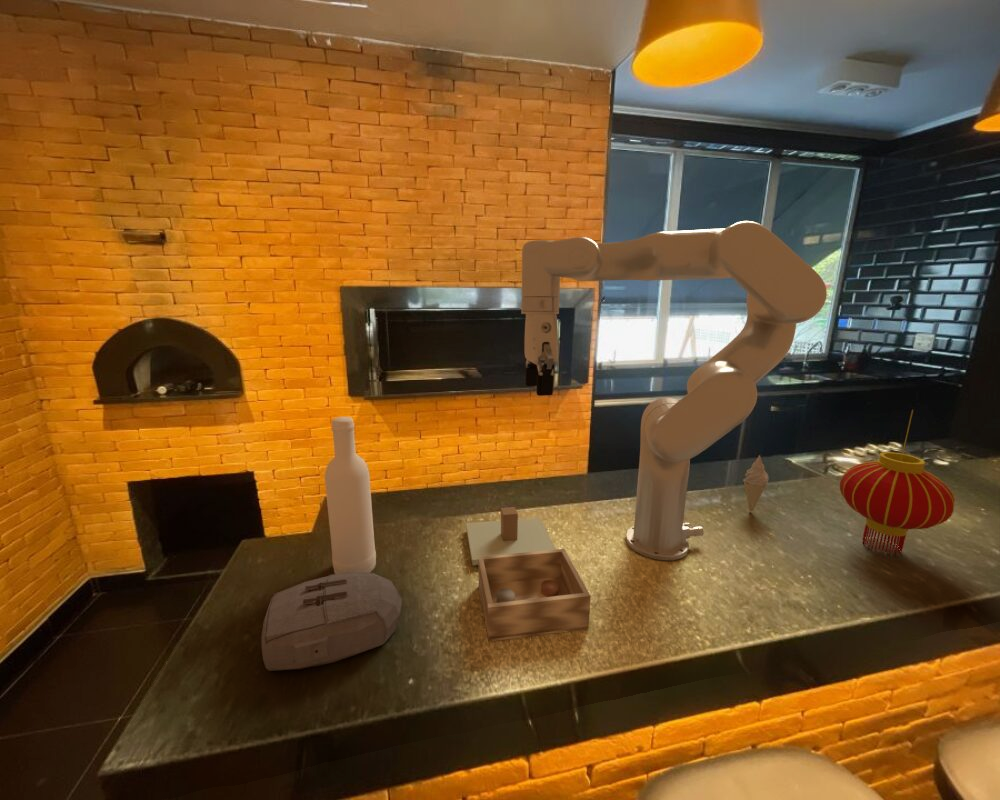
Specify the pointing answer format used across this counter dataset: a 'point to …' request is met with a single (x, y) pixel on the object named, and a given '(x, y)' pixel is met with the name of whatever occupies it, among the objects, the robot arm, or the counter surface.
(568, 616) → the storage box
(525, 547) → the lid
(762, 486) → the ice cream cone
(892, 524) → the lantern
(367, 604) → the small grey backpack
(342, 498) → the bottle
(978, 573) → the counter surface
